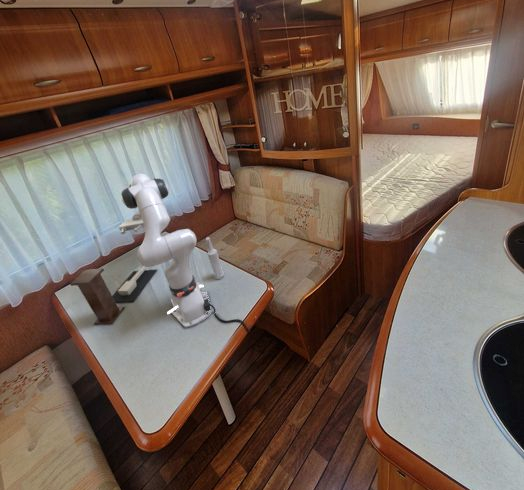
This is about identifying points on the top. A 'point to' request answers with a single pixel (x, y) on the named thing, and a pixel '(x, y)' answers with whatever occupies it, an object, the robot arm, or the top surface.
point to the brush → (131, 283)
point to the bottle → (214, 260)
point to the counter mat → (140, 284)
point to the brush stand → (98, 296)
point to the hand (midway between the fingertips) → (128, 232)
